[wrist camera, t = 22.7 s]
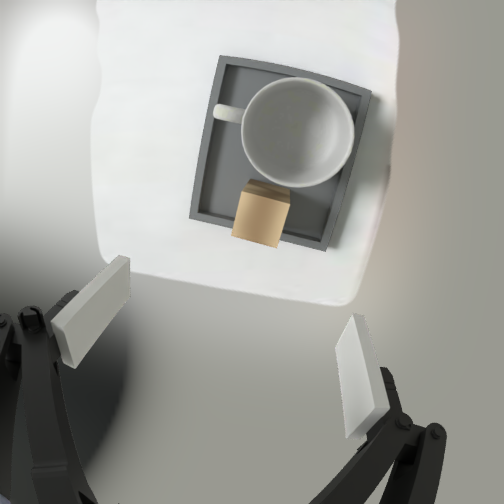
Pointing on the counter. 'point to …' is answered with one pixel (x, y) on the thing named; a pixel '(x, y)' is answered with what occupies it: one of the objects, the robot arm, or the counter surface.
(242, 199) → the oak block
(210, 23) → the counter surface
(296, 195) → the tray
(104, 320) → the robot arm
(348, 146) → the teacup
